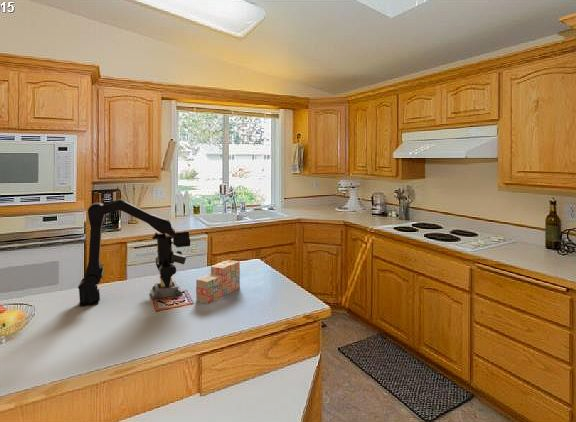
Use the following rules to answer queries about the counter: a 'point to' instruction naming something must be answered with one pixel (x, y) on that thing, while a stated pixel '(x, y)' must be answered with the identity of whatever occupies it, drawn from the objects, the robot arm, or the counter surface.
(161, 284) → the brass knobbed block
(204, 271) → the counter surface
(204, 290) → the stack of blocks
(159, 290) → the chassis
